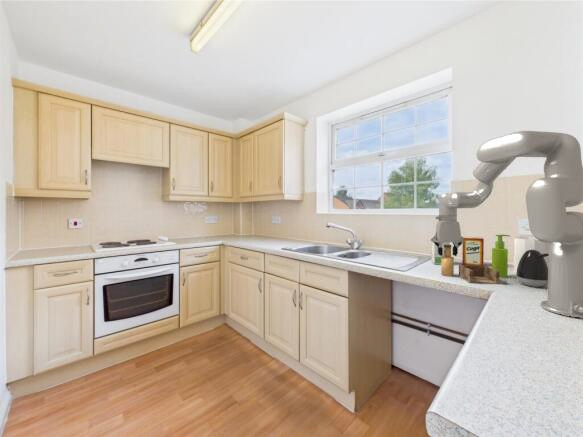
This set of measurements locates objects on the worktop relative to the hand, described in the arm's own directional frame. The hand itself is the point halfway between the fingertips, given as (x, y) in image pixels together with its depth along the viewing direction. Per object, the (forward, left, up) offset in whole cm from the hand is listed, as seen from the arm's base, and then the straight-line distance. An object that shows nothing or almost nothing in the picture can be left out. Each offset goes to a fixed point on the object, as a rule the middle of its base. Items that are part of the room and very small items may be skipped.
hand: (447, 255), depth 126 cm
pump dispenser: (-13, -28, -10) cm, 33 cm away
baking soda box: (+27, -23, -10) cm, 37 cm away
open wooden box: (-8, -10, -10) cm, 16 cm away
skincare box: (+28, -6, -10) cm, 30 cm away
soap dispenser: (+2, -24, -10) cm, 26 cm away
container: (+8, -41, -11) cm, 43 cm away
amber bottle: (0, 0, -10) cm, 10 cm away
